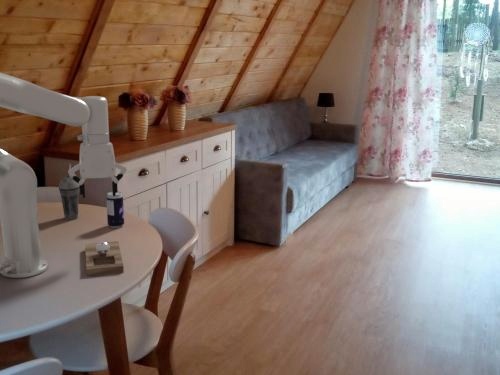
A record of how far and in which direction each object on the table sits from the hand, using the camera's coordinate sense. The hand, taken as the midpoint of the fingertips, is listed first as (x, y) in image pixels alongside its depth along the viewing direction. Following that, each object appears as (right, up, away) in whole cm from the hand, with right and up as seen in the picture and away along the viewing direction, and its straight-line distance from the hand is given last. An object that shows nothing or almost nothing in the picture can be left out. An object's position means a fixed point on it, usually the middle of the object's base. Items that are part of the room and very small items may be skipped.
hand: (99, 195), depth 166 cm
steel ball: (+2, -15, -3) cm, 16 cm away
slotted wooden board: (+2, -19, -2) cm, 19 cm away
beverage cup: (-20, -9, +36) cm, 42 cm away
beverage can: (-2, -11, +28) cm, 30 cm away
